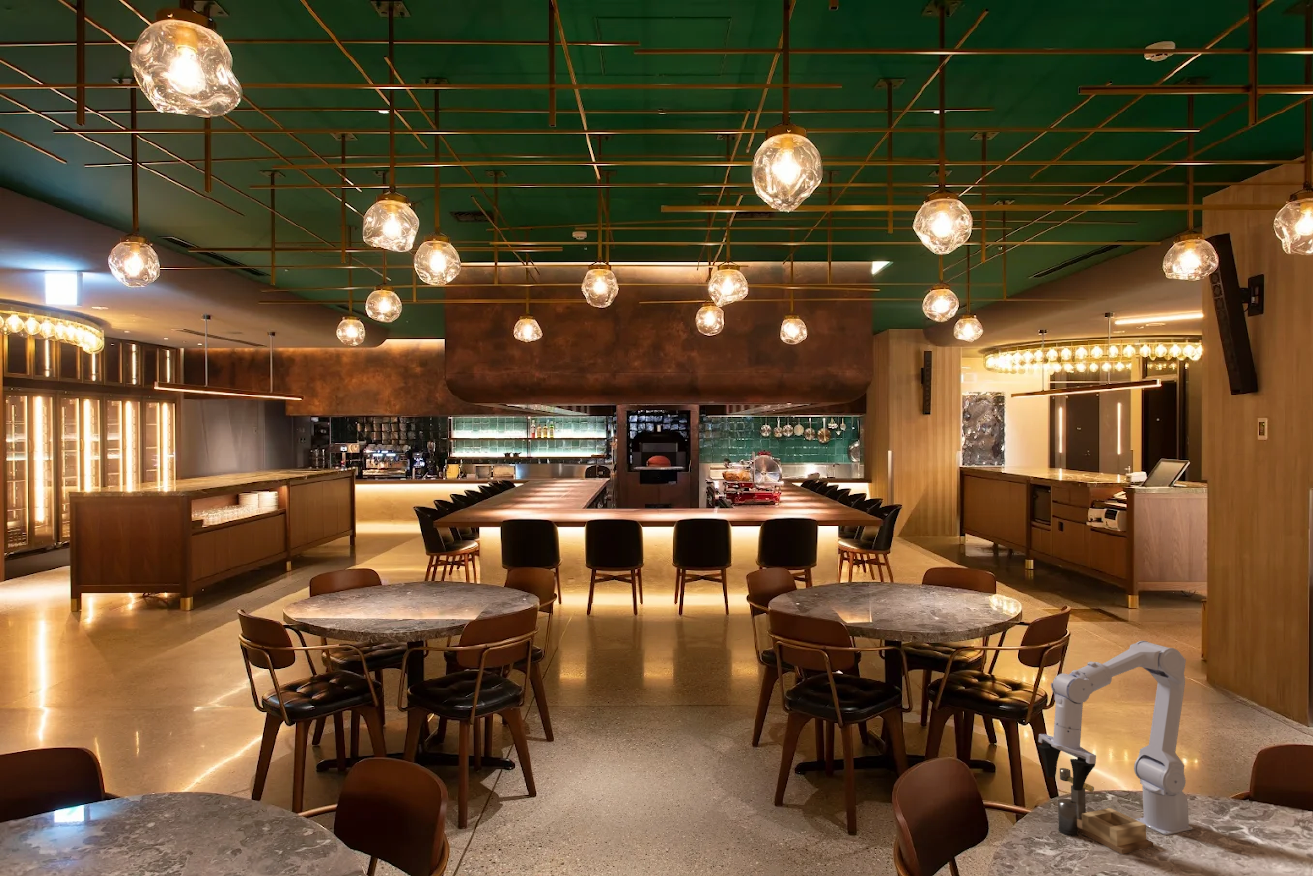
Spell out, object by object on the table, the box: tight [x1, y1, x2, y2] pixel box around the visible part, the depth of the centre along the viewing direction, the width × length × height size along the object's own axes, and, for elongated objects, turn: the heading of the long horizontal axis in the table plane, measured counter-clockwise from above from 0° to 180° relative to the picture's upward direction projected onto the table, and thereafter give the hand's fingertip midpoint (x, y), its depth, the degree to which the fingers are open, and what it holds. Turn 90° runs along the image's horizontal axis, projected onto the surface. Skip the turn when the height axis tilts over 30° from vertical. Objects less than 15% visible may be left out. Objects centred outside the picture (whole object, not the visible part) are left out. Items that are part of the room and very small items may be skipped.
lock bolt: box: [1059, 767, 1095, 793], centre depth 185 cm, size 2×9×2 cm, turn 19°
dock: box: [1070, 784, 1154, 855], centre depth 177 cm, size 10×17×8 cm, turn 19°
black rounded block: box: [1057, 798, 1079, 837], centre depth 178 cm, size 4×4×7 cm
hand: (1063, 783), depth 178 cm, fingers open, 7 cm apart
